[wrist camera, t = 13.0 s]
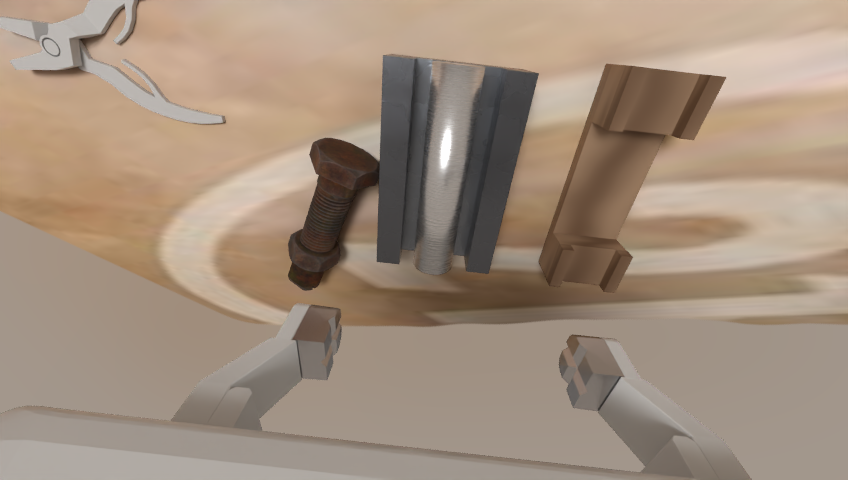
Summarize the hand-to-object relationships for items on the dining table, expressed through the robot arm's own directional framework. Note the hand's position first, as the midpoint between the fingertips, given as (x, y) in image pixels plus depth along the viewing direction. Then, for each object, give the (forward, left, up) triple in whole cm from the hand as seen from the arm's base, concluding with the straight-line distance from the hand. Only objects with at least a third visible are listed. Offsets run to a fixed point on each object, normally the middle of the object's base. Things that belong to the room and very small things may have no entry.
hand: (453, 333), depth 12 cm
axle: (0, 0, -16) cm, 16 cm away
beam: (-14, 0, -20) cm, 24 cm away
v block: (0, 0, -20) cm, 20 cm away
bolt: (+11, +6, -20) cm, 24 cm away
